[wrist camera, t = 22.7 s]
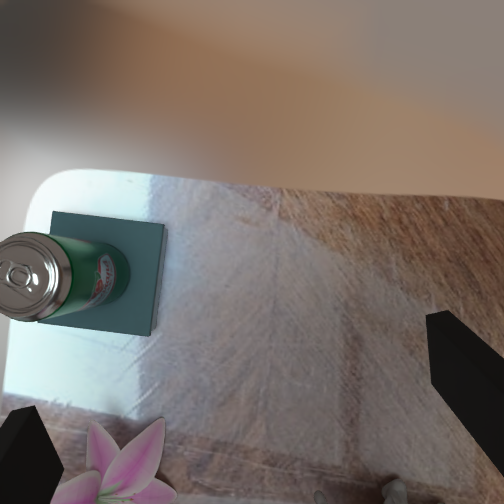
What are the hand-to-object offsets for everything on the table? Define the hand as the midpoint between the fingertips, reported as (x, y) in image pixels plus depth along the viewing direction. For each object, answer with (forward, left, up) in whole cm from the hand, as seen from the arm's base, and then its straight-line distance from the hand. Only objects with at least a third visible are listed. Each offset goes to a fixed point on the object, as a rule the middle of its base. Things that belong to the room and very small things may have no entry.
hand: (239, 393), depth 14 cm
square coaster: (+13, -2, -23) cm, 27 cm away
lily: (+9, +15, -24) cm, 29 cm away
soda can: (+13, -2, -21) cm, 24 cm away
